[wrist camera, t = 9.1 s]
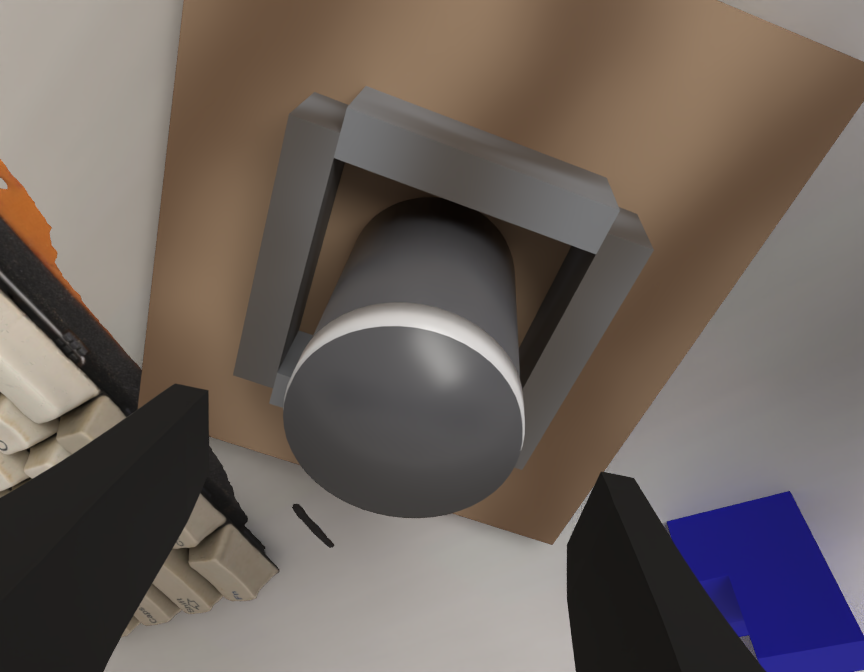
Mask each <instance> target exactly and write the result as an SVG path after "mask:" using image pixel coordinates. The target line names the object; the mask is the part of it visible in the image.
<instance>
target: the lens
mask: <svg viewBox="0 0 864 672" xmlns="http://www.w3.org/2000/svg"><path fill="white" fill-rule="evenodd" d="M283 423H284V430H285V434H286V438H287V441H288V444H289V446H290V448H291V451H292V453H293V454H294V456H295V458H296V459H297V461H298V463H299V464H300V465H301V466H302V468H303V469H304V470H305V472H306V473H307V474H308V475H309V476H310V477H311V478H312V479H313V480H314V481H315V482H316V483H318V484H319V485H320V486H321V487H323V488H324V489H325V490H326V491H328V492H329V493H331V494H333V495H334V496H336V497H337V498H339V499H341V500H343V501H345V502H347V503H349V504H351V505H353V506H356V507H358V508H361V509H363V510H367V511H370V512H373V513H377V514H382V515H387V516H393V517H402V518H427V517H436V516H442V515H447V514H451V513H454V512H458V511H461V510H463V509H466V508H468V507H471V506H473V505H475V504H477V503H478V502H480V501H482V500H484V499H485V498H487V497H488V496H489V495H491V494H492V493H494V492H495V491H496V490H497V489H498V488H499V487H500V486H501V485H502V484H503V483H504V482H505V480H506V479H507V478H508V477H509V475H510V474H511V472H512V470H513V469H514V467H515V465H516V463H517V460H518V458H519V455H520V452H521V449H522V446H523V441H524V435H525V416H524V398H523V391H522V385H521V382H520V367H519V347H518V326H517V306H516V286H515V268H514V262H513V257H512V254H511V251H510V248H509V246H508V244H507V242H506V240H505V238H504V237H503V235H502V234H501V232H500V231H499V230H498V229H497V227H496V226H495V225H494V224H493V223H492V222H491V221H490V220H489V219H488V218H486V217H485V216H484V215H483V214H481V213H480V212H478V211H477V210H474V209H471V208H469V207H466V206H463V205H460V204H458V203H455V202H452V201H450V200H447V199H444V198H436V197H421V198H414V199H409V200H405V201H402V202H399V203H396V204H394V205H392V206H390V207H388V208H386V209H385V210H383V211H382V212H380V213H379V214H377V215H376V216H375V217H374V218H373V219H372V220H371V221H370V222H369V223H368V224H367V225H366V226H365V227H364V229H363V230H362V232H361V233H360V235H359V237H358V239H357V241H356V243H355V246H354V248H353V250H352V252H351V254H350V256H349V259H348V261H347V263H346V265H345V267H344V269H343V272H342V274H341V276H340V278H339V280H338V282H337V285H336V287H335V289H334V291H333V293H332V295H331V298H330V300H329V302H328V304H327V306H326V308H325V311H324V313H323V315H322V317H321V319H320V321H319V324H318V326H317V328H316V330H315V332H314V334H313V337H312V339H311V340H310V342H309V343H308V344H307V346H306V347H305V349H304V350H303V352H302V355H301V357H300V359H299V361H298V363H297V365H296V367H295V370H294V372H293V374H292V376H291V378H290V380H289V383H288V385H287V389H286V392H285V396H284V406H283Z"/></svg>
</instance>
